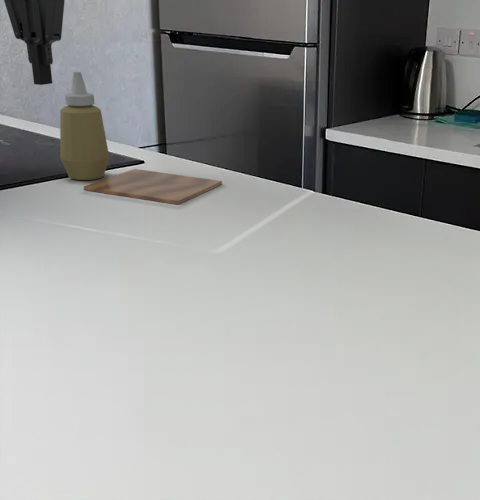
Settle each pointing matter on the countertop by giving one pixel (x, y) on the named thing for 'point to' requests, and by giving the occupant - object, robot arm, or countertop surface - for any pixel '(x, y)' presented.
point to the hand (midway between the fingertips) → (43, 83)
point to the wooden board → (154, 186)
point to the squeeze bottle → (82, 134)
